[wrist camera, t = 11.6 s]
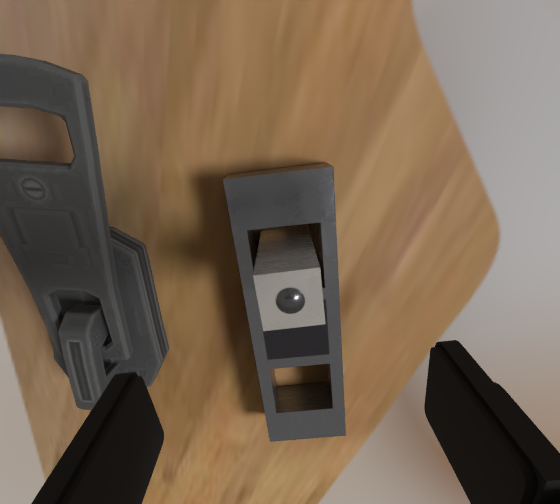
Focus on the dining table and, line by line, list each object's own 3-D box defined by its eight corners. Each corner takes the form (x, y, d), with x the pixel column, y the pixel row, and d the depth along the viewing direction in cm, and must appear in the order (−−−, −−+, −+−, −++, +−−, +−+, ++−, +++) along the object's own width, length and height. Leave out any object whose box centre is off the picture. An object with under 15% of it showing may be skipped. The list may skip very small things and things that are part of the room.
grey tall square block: (261, 230, 23) (252, 276, 16) (307, 224, 23) (320, 267, 16) (268, 271, 25) (263, 331, 17) (311, 266, 25) (325, 324, 17)
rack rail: (230, 173, 22) (222, 179, 19) (326, 162, 22) (333, 166, 19) (270, 413, 31) (270, 442, 28) (339, 407, 30) (345, 436, 27)
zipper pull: (86, 57, 14) (142, 441, 23) (146, 81, 20) (171, 375, 29) (-117, 42, 13) (22, 435, 23) (8, 70, 20) (77, 370, 29)
